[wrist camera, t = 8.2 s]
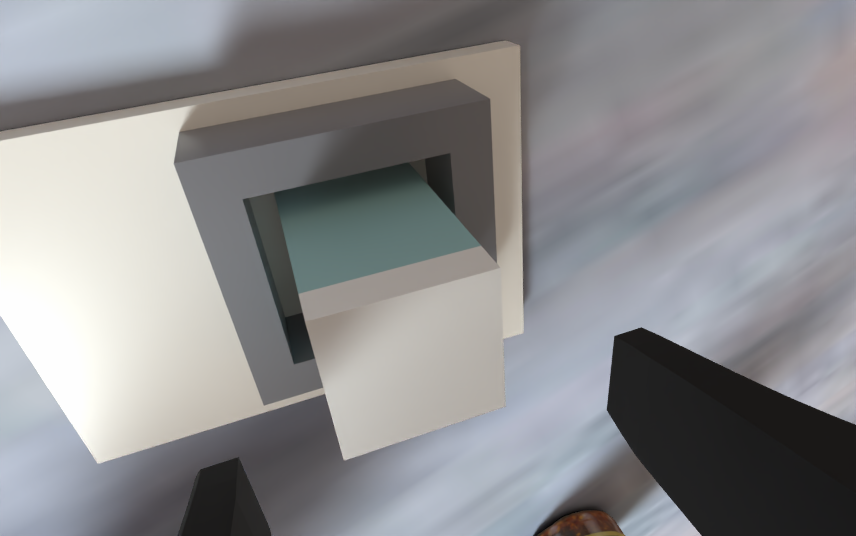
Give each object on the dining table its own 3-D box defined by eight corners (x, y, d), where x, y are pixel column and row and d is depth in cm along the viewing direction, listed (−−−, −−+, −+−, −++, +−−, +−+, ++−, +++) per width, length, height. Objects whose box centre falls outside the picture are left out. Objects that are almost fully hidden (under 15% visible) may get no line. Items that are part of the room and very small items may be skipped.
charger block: (418, 266, 19) (505, 406, 13) (303, 297, 18) (343, 460, 12) (403, 156, 17) (501, 267, 11) (272, 186, 16) (305, 321, 10)
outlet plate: (512, 318, 23) (554, 372, 20) (102, 441, 20) (84, 527, 17) (505, 40, 17) (563, 60, 14) (-83, 146, 14) (-161, 200, 11)
